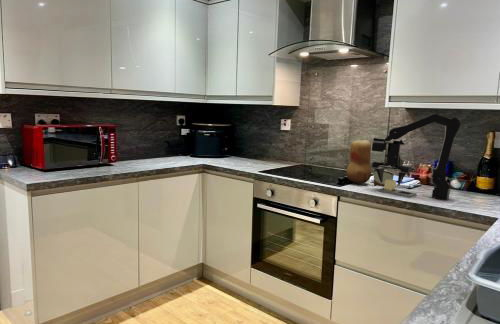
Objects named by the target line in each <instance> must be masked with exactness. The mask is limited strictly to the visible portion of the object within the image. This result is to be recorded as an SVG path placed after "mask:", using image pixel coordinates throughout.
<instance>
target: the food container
mask: <svg viewBox="0 0 500 324" xmlns="http://www.w3.org/2000/svg"><path fill="white" fill-rule="evenodd" d="M372 173H373V187H377V186H379V187H382V188H384V185H385V180H387V179H391V180H394V176H396V173H395V169H391V168H384V171H383V181H382V182H380V179H379V176H378V174H377V171H376V170H375V169H374V168H373V169H372Z"/></svg>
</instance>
